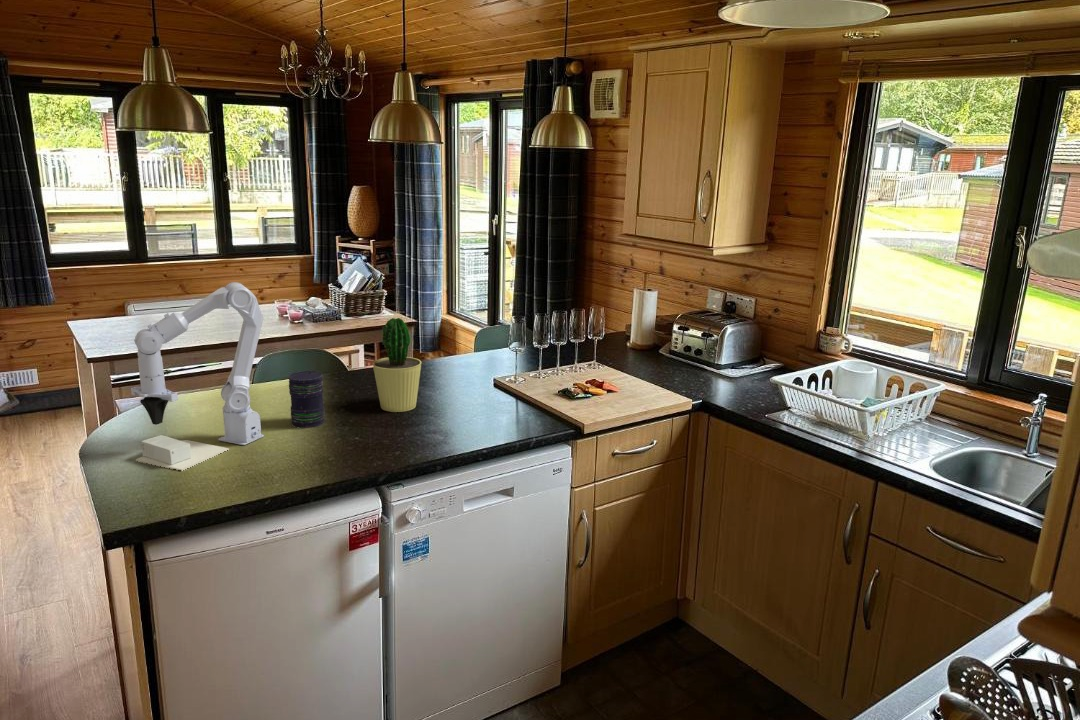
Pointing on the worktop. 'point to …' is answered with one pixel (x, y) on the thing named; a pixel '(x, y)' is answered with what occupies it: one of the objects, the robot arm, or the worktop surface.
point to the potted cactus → (397, 370)
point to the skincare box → (166, 449)
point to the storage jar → (306, 399)
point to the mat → (198, 455)
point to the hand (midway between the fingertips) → (157, 423)
